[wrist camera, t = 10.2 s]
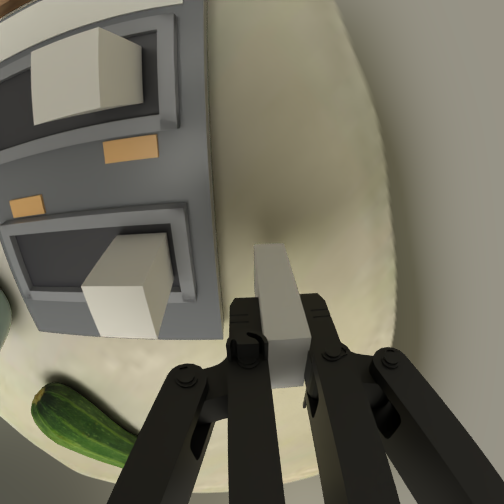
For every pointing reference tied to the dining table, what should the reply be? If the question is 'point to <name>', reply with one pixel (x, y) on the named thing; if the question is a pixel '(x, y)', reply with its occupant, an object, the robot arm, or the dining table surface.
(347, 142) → the dining table surface
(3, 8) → the screwdriver
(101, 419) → the vegetable
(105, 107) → the tab
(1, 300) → the cup
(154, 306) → the tab
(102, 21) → the switch board
